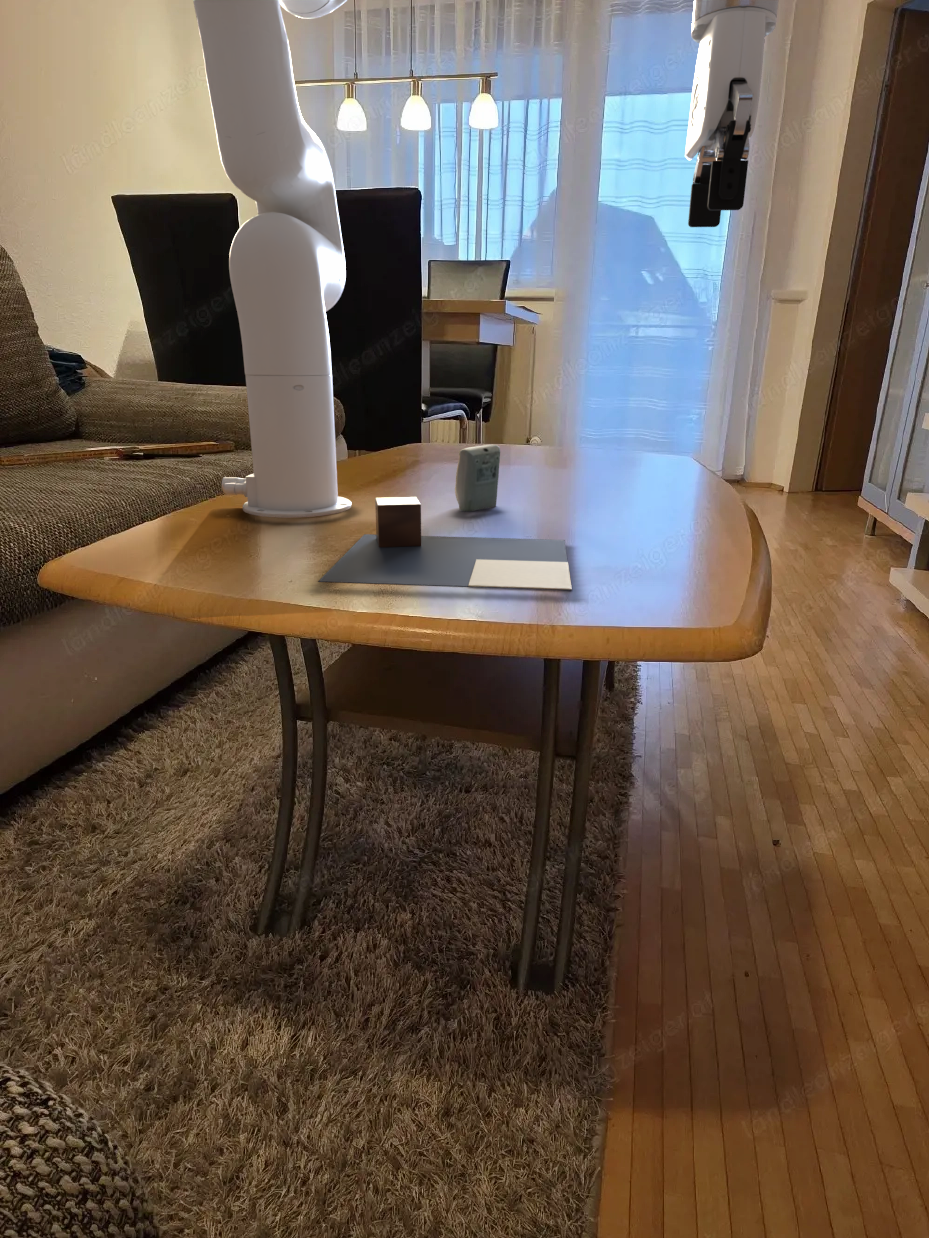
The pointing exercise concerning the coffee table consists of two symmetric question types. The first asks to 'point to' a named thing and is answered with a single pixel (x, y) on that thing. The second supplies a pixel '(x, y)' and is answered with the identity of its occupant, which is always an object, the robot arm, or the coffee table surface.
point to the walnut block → (398, 521)
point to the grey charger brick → (477, 477)
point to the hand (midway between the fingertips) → (713, 218)
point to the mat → (457, 563)
